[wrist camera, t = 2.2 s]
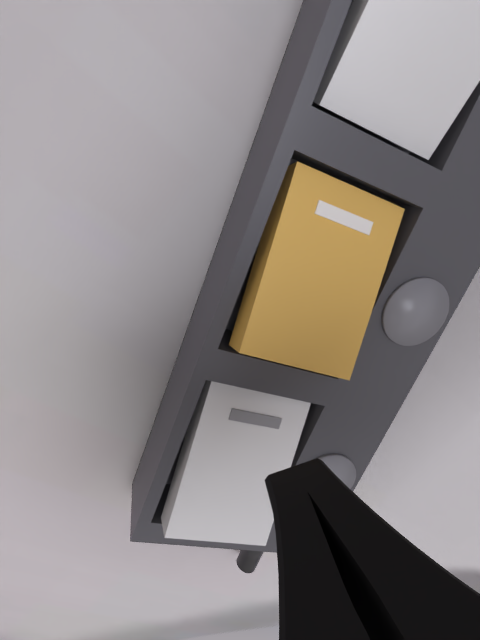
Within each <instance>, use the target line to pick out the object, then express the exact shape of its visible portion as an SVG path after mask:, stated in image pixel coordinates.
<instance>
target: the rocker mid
mask: <svg viewBox="0 0 480 640" xmlns="http://www.w3.org/2000/svg"><path fill="white" fill-rule="evenodd" d="M404 210H405V209H404V208H402V207H399V206H397V205H395V204H393V203H390V202H388V201H386V200H384V199H381V198H379V197H377V196H375V195H372V194H370V193H368V192H366V191H363V190H361V189H359V188H357V187H354V186H352V185H350V184H348V183H345V182H343V181H341V180H339V179H336V178H334V177H332V176H329V175H327V174H325V173H323V172H320V171H318V170H316V169H314V168H311V167H309V166H307V165H305V164H302V163H300V162H298V161H297V162H295V163H293V164H291V165H289V166H288V168H287V171H286V173H285V176H284V178H283V181H282V184H281V186H280V189H279V191H278V194H277V197H276V199H275V202H274V204H273V207H272V210H271V212H270V215H269V217H268V220H267V223H266V225H265V228H264V230H263V233H262V236H261V239H260V243H259V246H258V249H257V253H256V256H255V259H254V263H253V266H252V269H251V273H250V276H249V279H248V282H247V286H246V289H245V292H244V296H243V299H242V302H241V306H240V309H239V312H238V316H237V319H236V322H235V326H234V329H233V332H232V336H231V339H230V342H229V345H230V346H231V347H232V348H233V349H235V350H236V351H237V352H239V353H241V354H245V355H249V356H253V357H257V358H261V359H265V360H269V361H273V362H277V363H281V364H285V365H289V366H293V367H297V368H301V369H305V370H309V371H313V372H317V373H321V374H325V375H329V376H333V377H337V378H341V379H345V380H349V381H350V378H351V374H352V371H353V368H354V365H355V362H356V359H357V356H358V353H359V350H360V347H361V343H362V340H363V337H364V334H365V331H366V328H367V325H368V322H369V319H370V316H371V312H372V309H373V306H374V303H375V300H376V297H377V294H378V291H379V288H380V285H381V281H382V278H383V275H384V272H385V269H386V266H387V263H388V260H389V257H390V254H391V250H392V247H393V244H394V241H395V238H396V235H397V232H398V229H399V226H400V223H401V219H402V216H403V213H404Z"/></svg>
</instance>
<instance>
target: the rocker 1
mask: <svg viewBox="0 0 480 640" xmlns="http://www.w3.org/2000/svg"><path fill="white" fill-rule="evenodd" d="M310 405H311V403H309V402H304V401H300V400H295V399H290V398H286V397H281V396H277V395H272V394H268V393H263V392H259V391H254V390H249V389H245V388H240V387H236V386H231V385H227V384H222V383H218V382H213V381H208V380H206V381H205V384H204V386H203V389H202V391H201V394H200V397H199V399H198V402H197V404H196V407H195V409H194V412H193V415H192V417H191V420H190V422H189V425H188V428H187V432H186V435H185V438H184V442H183V445H182V448H181V452H180V455H179V459H178V462H177V465H176V469H175V472H174V475H173V479H172V482H171V485H170V489H169V492H168V495H167V499H166V502H165V505H164V509H163V512H162V515H161V521H162V527H163V532H164V538H173V539H185V540H198V541H210V542H223V543H235V544H247V545H260V546H266V543H267V540H268V537H269V534H270V531H271V528H272V524H273V521H274V517H273V511H272V507H271V503H270V500H269V496H268V492H267V488H266V484H265V479H266V477H267V476H268V475H269V474H272V473H275V472H278V471H281V470H284V469H287V468H290V467H291V465H292V461H293V458H294V455H295V452H296V449H297V446H298V443H299V439H300V436H301V433H302V430H303V427H304V424H305V421H306V417H307V414H308V411H309V408H310Z"/></svg>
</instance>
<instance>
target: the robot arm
mask: <svg viewBox="0 0 480 640" xmlns="http://www.w3.org/2000/svg"><path fill="white" fill-rule="evenodd" d="M265 484H266V488H267V492H268V496H269V500H270V503H271V507H272V511H273V517H274V524H275V532H276V544H277V557H278V573H279V640H480V594H479V593H478V592H476V591H475V590H473V589H472V588H470V587H469V586H468V585H466V584H465V583H463V582H462V581H461V580H459V579H458V578H457V577H455V576H454V575H452V574H451V573H450V572H448V571H447V570H446V569H444V568H443V567H442V566H440V565H439V564H438V563H436V562H435V561H434V560H433V559H431V558H430V557H429V556H427V555H426V554H425V553H424V552H422V551H421V550H420V549H418V548H417V547H416V546H415V545H413V544H412V543H411V542H410V541H408V540H407V539H406V538H405V537H404V536H402V535H401V534H400V533H399V532H398V531H396V530H395V529H394V528H393V527H392V526H391V525H389V524H388V523H387V522H386V521H385V520H384V519H382V518H381V517H380V516H379V515H378V514H377V513H375V512H374V511H373V510H372V509H371V508H370V507H369V506H368V505H366V504H365V503H364V502H363V501H362V500H361V499H360V498H359V497H358V496H357V495H356V494H355V493H354V492H353V491H351V490H350V489H349V488H348V487H347V486H346V485H345V484H344V483H343V482H342V481H341V480H340V479H339V478H338V477H337V476H336V475H335V474H334V473H333V472H332V471H331V469H330V468H329V467H328V466H327V465H326V464H325V463H324V462H323V461H322V460H320V459H318V458H316V459H313V460H310V461H307V462H304V463H301V464H299V465H296V466H293V467H290V468H287V469H284V470H281V471H278V472H275V473H272V474H269V475H268V476H267V477H266V479H265Z"/></svg>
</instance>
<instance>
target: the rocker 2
mask: <svg viewBox="0 0 480 640" xmlns="http://www.w3.org/2000/svg"><path fill="white" fill-rule="evenodd" d="M479 81H480V0H353V2H352V5H351V7H350V9H349V11H348V13H347V16H346V18H345V20H344V23H343V25H342V28H341V30H340V33H339V36H338V38H337V41H336V43H335V46H334V49H333V51H332V54H331V56H330V59H329V62H328V64H327V67H326V69H325V72H324V75H323V77H322V80H321V82H320V85H319V88H318V90H317V93H316V95H315V98H314V101H313V102H315V103H316V104H318V105H320V106H322V107H324V108H326V109H328V110H330V111H332V112H334V113H336V114H338V115H340V116H342V117H344V118H346V119H348V120H350V121H352V122H354V123H356V124H358V125H360V126H362V127H364V128H366V129H368V130H370V131H372V132H374V133H376V134H378V135H380V136H382V137H384V138H386V139H388V140H390V141H392V142H393V143H395V144H397V145H399V146H401V147H403V148H405V149H407V150H409V151H411V152H413V153H415V154H417V155H419V156H421V157H423V158H425V159H427V160H429V159H430V157H431V155H432V154H433V152H434V151H435V149H436V148H437V146H438V145H439V143H440V142H441V140H442V138H443V137H444V135H445V134H446V132H447V131H448V129H449V128H450V126H451V124H452V123H453V121H454V120H455V118H456V117H457V115H458V114H459V112H460V111H461V109H462V107H463V106H464V104H465V103H466V101H467V100H468V98H469V97H470V95H471V93H472V92H473V90H474V89H475V87H476V86H477V84H478V83H479Z"/></svg>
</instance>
